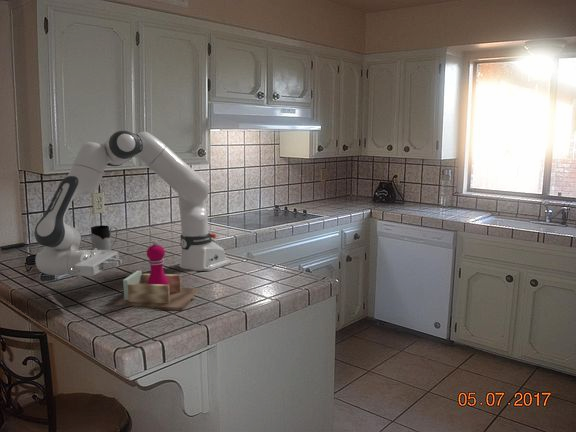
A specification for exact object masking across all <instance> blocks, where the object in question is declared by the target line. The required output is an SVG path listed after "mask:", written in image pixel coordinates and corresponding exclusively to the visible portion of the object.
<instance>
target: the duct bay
mask: <svg viewBox="0 0 576 432" xmlns="http://www.w3.org/2000/svg"><path fill="white" fill-rule="evenodd" d="M164 274H165V276H166V278H167V280H168V284H169V285H166V284H147V282H148V279H149V277H150V273H142V284H135V283H129V284H128V296H129V300H125V299H124V296H123V297H121V298H120V299H119V300H117V301H116V302H114V303H113V304H112V305H113V306H127V307H129V306H131V307H150V308H149V310H159V311H184V309H186V308H187V307H188V306H189V304H191V302H192V301H193V300H194V299H195V298H194V296H195V295H197V293H198V292H199V291H200V290H202V289H201V287H198V288H197V287H182V275H181V274H176V273H175V274H173V273H171V274H169V273H168V274H167V273H164Z"/></svg>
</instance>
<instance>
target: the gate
mask: <svg viewBox="0 0 576 432" xmlns="http://www.w3.org/2000/svg"><path fill="white" fill-rule="evenodd" d="M142 274H143V272H142V270H136V271H135V272H133V273H131V274H130V275H128V276H127V277H126V278H124V279H122V282H123V284H122V285H123V297H124V299H125V300H129V296H128V284H129V283H135V284H142Z"/></svg>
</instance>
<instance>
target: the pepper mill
mask: <svg viewBox="0 0 576 432" xmlns="http://www.w3.org/2000/svg"><path fill="white" fill-rule="evenodd" d="M165 255H166V249H164V247H163V246H162V245H159V242H158V240H153V241H152V245H151V246H149V247H148V248H147V249H146V256H147V258H148V264H149V265H150V273H149V274H150V277H149V279H148V282H147V284H166V285H169V284H168V280H167V278H166V276H165V274H166V273H165V271H164V265H163V264H164V263H165V261H164V260H165V259H164V256H165Z"/></svg>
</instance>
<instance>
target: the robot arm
mask: <svg viewBox="0 0 576 432" xmlns="http://www.w3.org/2000/svg"><path fill="white" fill-rule="evenodd" d="M132 158H135V159H138V160H140V161H141V162H142V163H143V164H144V165H145V166H146V167H148V168H149V170H151V171H152V172H153V173H154V174H155V175H157V176H158V177H159V178H160V179H161V180H163V181H164V182H165V183H166V184H167V185H168V186H170V188H171V189H173V190H174V191H175V192H176V193H177V196H178V197H177V198H178V199H177V200H178V206H179V214H180V215H179V216H180V231H181V234H180V247H181V253H180V254H181V257H180V262H179V267H180V268H181V269H185V270H192V271H194V272H198V271H200V272H201V271H202V272H203V271H205V272H209V271H210V272H211V271H213V270H217V269H218V268H221V267H223V266H226V265H230V264H231V263H232V260H231V259H230V258H228V257H226V252H225V249H224V248H223V247H221V246H220V245H218V244H217V243H216V242H214V241H213V239H217V234H216V233H210V232H209V221H208V219H209V218H208V212H207V205H206V199H207V198H208V196H209V193H210V189H209V188H210V187H209V184H208V182H207V181H206V180H205V179H204V178H203V177H202V176H201V175H200V174H199V173H198V172H196V170H194V169H193V168H192V167H191V166H189V165H188V163H186V161H184V160H183V159H181V158H180V156H178V155H177V153H175V152H174V151H173V150H172V149H171V148H169V147H168V146H167V145H166V144H165V143H164V142H163V141H161V140H160V139H159V138H158V137H156V136H154V135H153V134H151V133H150V132H148V131H140V132H138V133H134V132H131V131H128V130H117V131H115V132H114V133H113V134H112V135H110V136H109V137H107V138H106V140H105V141H104V142H103V143H98V142H95V141H94V142H93V141H87V142H84V143H83V144H82V145H81V147H80V149H79V150H78V152H77V153H76V156H75V158H74V160H73V162H72V164H71V165H72V166H71V167H70V171H69V172H68V174H67V176H66V177H64V178H63V179H62V181H61V182H60V183H59V184H58V187H57V188H56V190H55V193H54V195H53V197H52V199H51V201H50V203H49V205H48V207H47V209H46V211H45V213H44V215H43V216H42V217H41V218H40V219H39V221H37V223H36V225H35V227H34V230H33V231H34V232H33V233H34V238H35V240H36V242H37V243H38V244H39V245H41V246H43V248H42V249H41V250H40V251H38V252H37V253H36V255H35V265H36V267H37V269H38V271H39V272H41V273H43V274H45V275H51V276H65V275H69V276H78V277H95V275H97V274H100V273H101V272H102V271H104V270H106V269H111V268H118V267H119V266H121V265H123V259H120V254H119V253H120V252H119V251H117V250H112V249H111V250H97V248H92V247H91V248H88V249H80V248H81V243H82V234H81V232H80V230H78V229H77V228H75V227H74V226H71V225H70V224H67V223H66V221H65V218H66V215H67V213H68V211H69V208H70V206H71V204H72V202H73V200H74V199H75V198H76V197H77V196H80V195H81V196H84V195H85V196H86V195H90V194H92V193H94V192H96V191H97V190H98V188H99V186H100V184H101V181H102V179H103V176H104V173H105V169H106V167H107V166H110V167H119V166H120V167H121V166H122V165H124V164H126V163H127V162H129V161H130V160H132Z"/></svg>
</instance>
